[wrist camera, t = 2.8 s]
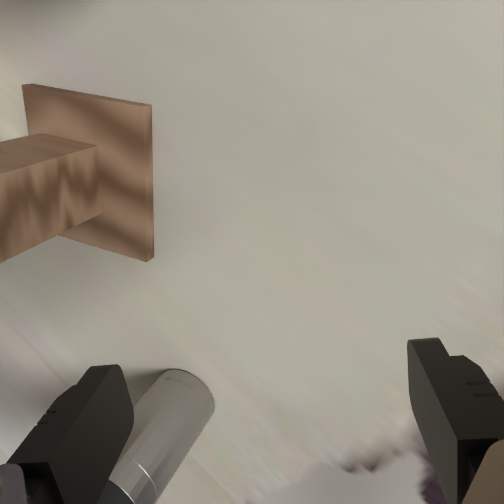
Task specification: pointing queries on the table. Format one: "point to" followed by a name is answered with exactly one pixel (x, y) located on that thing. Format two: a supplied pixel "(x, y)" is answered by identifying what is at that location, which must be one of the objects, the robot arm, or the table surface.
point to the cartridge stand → (78, 174)
